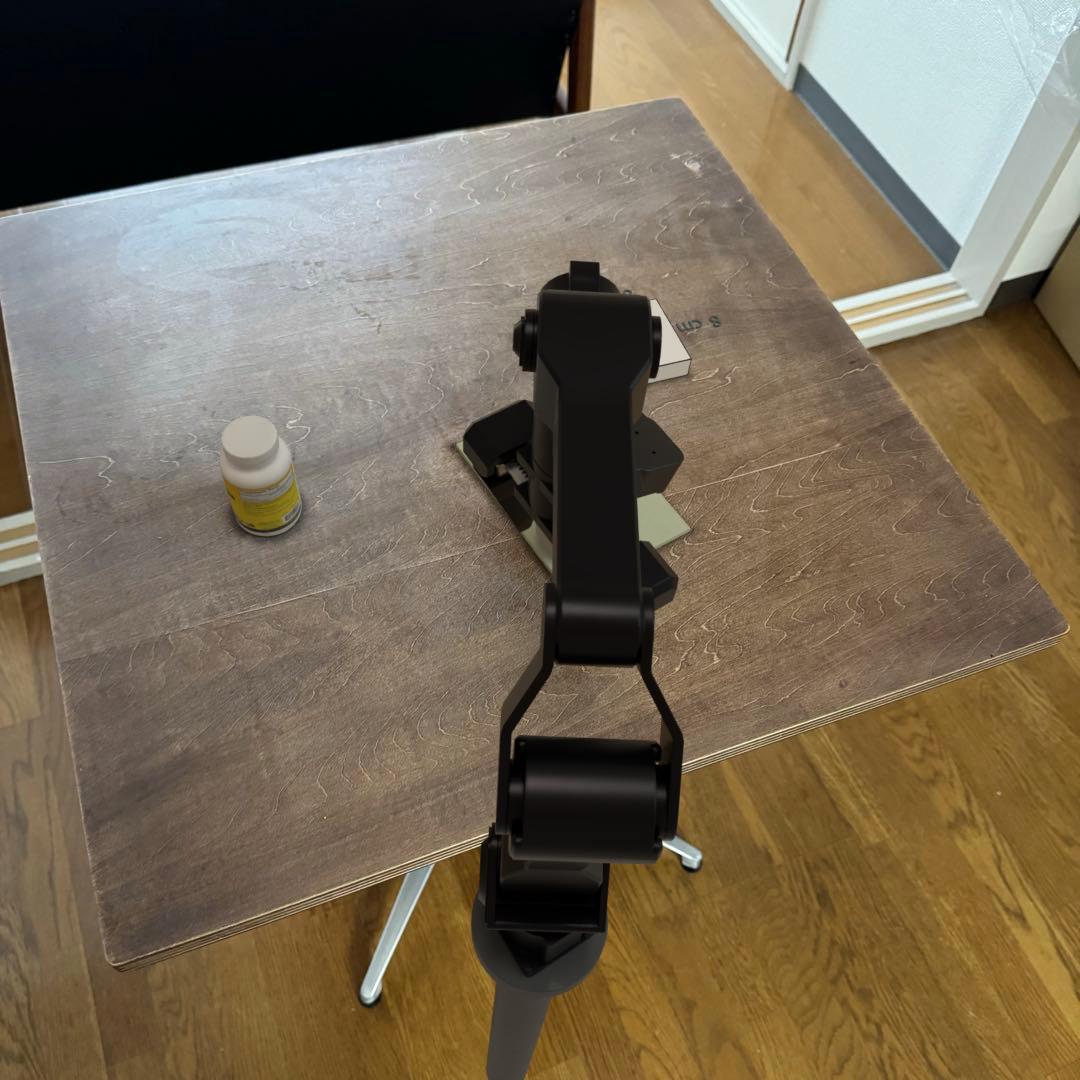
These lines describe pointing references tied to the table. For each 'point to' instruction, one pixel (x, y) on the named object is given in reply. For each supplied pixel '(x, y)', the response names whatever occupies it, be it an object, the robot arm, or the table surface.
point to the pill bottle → (259, 476)
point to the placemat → (653, 521)
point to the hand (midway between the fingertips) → (557, 571)
